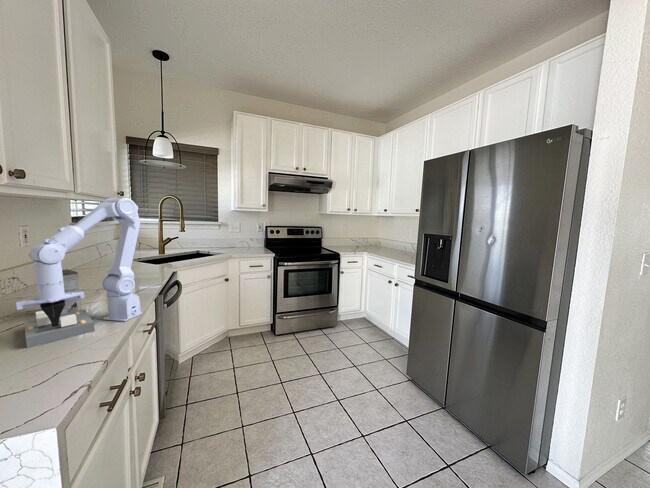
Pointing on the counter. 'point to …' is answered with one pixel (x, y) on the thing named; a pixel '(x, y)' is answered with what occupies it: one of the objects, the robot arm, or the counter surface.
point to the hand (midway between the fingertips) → (55, 325)
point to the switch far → (40, 313)
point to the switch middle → (43, 320)
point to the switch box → (57, 329)
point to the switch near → (68, 320)
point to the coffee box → (70, 291)
